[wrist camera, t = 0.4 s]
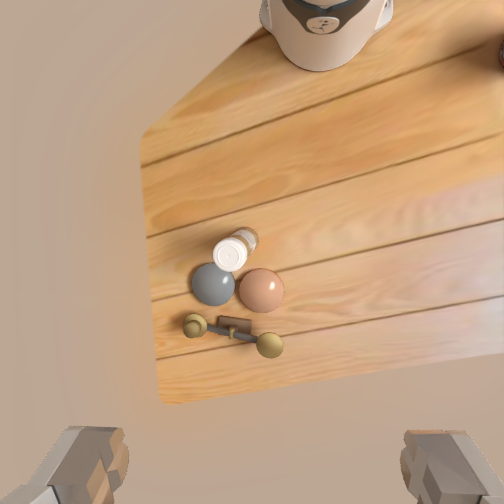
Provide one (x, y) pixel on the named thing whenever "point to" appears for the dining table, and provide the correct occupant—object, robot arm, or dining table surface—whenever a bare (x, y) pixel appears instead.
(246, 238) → the spice jar
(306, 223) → the dining table surface
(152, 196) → the dining table surface
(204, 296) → the grey oval pebble
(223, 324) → the balance
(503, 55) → the supplement bottle
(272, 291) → the peach oval pebble
